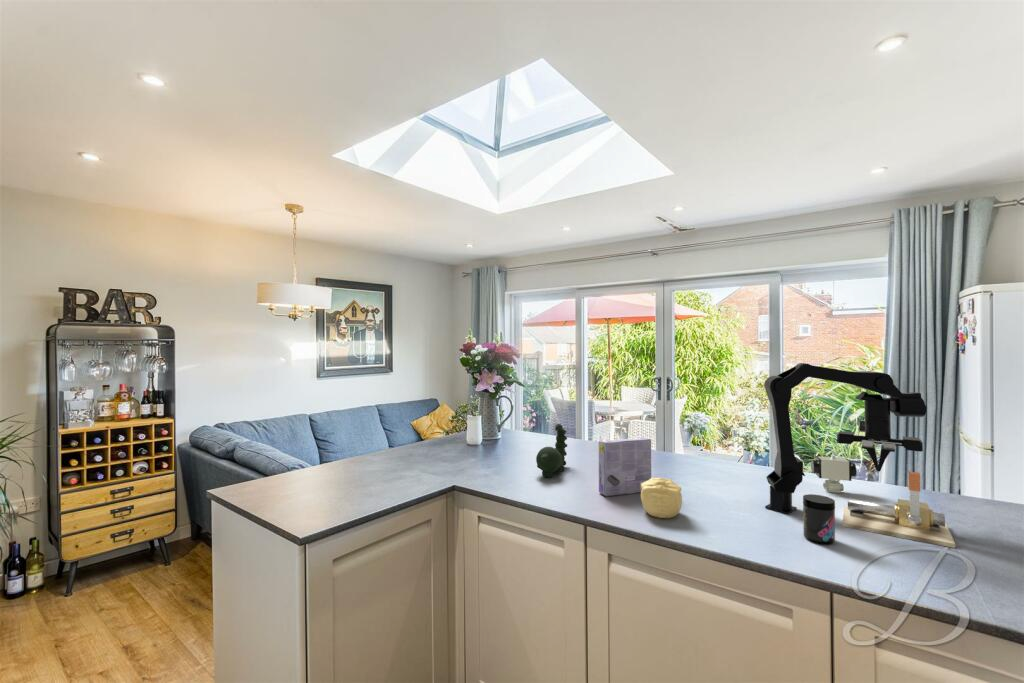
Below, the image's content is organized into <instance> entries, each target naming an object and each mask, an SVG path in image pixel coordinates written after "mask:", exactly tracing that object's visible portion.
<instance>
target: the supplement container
mask: <svg viewBox="0 0 1024 683" xmlns="http://www.w3.org/2000/svg"><path fill="white" fill-rule="evenodd" d="M802 504H803V505H802V508H803V509H802V511H803V513H802V515H803V516H802V517H803V518H802V519H803V524H802V525H803V528H802V529H803V536H804V538H805V539H806V540H807V541H809V542H811V543H814V544H817V545H821V546H824V545H825V546H831V545H833V544H834V543H835V542H836V511H835V510H836V500H835V499H833V498H831V497H829V496H826V495H825V496H824V495H820V494H811V493H809V494H803V496H802Z"/></svg>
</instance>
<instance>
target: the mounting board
mask: <svg viewBox="0 0 1024 683" xmlns="http://www.w3.org/2000/svg"><path fill="white" fill-rule="evenodd" d="M842 527H844V528H850V529H856V530H858V531H859V530H860V531H865V532H866V531H867V532H872V533H874V534H875V533H877V534H882V535H886V536H892V537H896V538H900V539H901V538H902V539H907V540H910V541H911V540H912V541H917V542H922V543H928V544H931V545H932V544H933V545H937V546H944V547H948V548H953V549H955V548H956V543H955V540H954V538H953V535H952V533H951V531H950V529H949V526H948V525H947V523H945V527H943V526H939V527H940V532H936V531H928V530H922V529H917V528H911V527H906V526H900V525H899V522H898V521H895V518H891V517H886V516H880V515H874V514H868V513H864V518H859V517H853V516H850V510H848V506H844V507H843V516H842Z"/></svg>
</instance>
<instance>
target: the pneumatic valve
mask: <svg viewBox="0 0 1024 683" xmlns="http://www.w3.org/2000/svg"><path fill="white" fill-rule="evenodd" d="M830 456H831V457H830ZM830 456H818V455H817V456H816V455H815V458H814V459H812V460H811V461H810V470H811V472H812V474H815V475H816V477H818V479H825V480H824V482H823V483H822V486H823V487H822V488H823V489H824V490H826V492H827V493H830V494H831V493H832V494H842V492H844V490H845V487H844V484H843V483H840V481H847V482H852V479H853V477H854V478H855V477H856V476H857V466H856V463H854V462H852V461H851V460H850V459H848V458H847V457H836V455H833V454H831V455H830Z"/></svg>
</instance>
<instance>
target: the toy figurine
mask: <svg viewBox="0 0 1024 683" xmlns="http://www.w3.org/2000/svg"><path fill="white" fill-rule="evenodd" d="M554 431H556V435H555V439H556V442H555V445H554V447H552V446H545V447H543V448H541V449H539V451H538V452H537V455H536V456H535V457H536V458H535V461H536V467H537V468H538V469H540V470H541V471H542V472H541V475H542V476H543V477H544V478H546V479H548V478H549V479H551V478H552V477H553V475H554V472H556V473H557V474H560V473H562V472H563V471H564V470H565V468H566V467H565V466H566V465H567V461H566V460H565V457H566V456H567V452H566V448H567V447H568V444H567V443H566V442H565V441H567V439H568V437H567V436H566V433H567V430H565V429H564V428H563V425H562V424H561V423H556V424H555V427H554Z"/></svg>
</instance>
